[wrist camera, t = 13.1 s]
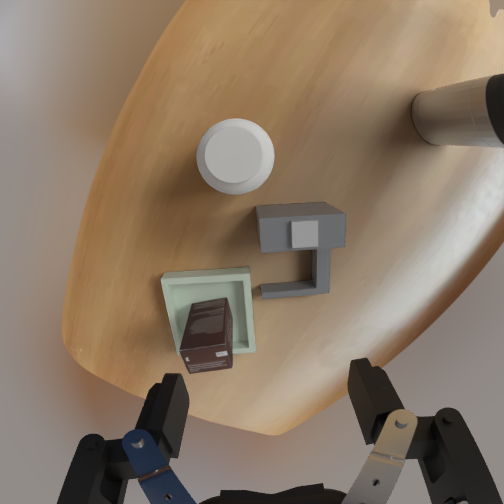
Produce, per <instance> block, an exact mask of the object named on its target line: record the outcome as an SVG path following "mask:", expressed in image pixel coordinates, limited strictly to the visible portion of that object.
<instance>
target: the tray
mask: <svg viewBox="0 0 504 504" xmlns="http://www.w3.org/2000/svg"><path fill="white" fill-rule="evenodd" d="M161 284H162V289H163V294H164V299H165V303H166V308H167V313H168V317H169V321H170V326H171V330H172V334H173V338H174V342H175V346H176V350H177V354H178V355H181V354H180V352H179V348H180V345H181V341H182V337H183V333H184V330H185V326H186V322H187V319H188V315H189V311H190V308H191V304H192V303H198V302H203V301H209V300H214V299H220V298H225V297H227V298H228V302H229V306H230V309H231V313H232V317H233V354H238V353H254V352H256V348H255V335H254V322H253V308H252V295H251V282H250V268H249V267H238V268H224V269H209V270H194V271H178V272H165V273H164V274H163V276H162V278H161Z"/></svg>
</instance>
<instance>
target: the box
mask: <svg viewBox="0 0 504 504" xmlns="http://www.w3.org/2000/svg"><path fill="white" fill-rule="evenodd" d="M179 352H180V354H181V356H182V359H183V361H184V363H185V365H186V368H187V370H188V372H189V373H190V374H191V373H199V372H207V371H214V370H222V369H228V368H232V365H233V363H232V361H233V317H232V313H231V309H230V306H229V302H228V298H227V297H225V298H220V299H214V300H209V301H203V302H198V303H192V304H191V308H190V311H189V315H188V319H187V322H186V326H185V330H184V333H183V337H182V341H181V345H180V348H179Z"/></svg>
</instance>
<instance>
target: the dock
mask: <svg viewBox="0 0 504 504" xmlns="http://www.w3.org/2000/svg"><path fill="white" fill-rule="evenodd" d="M256 219H257V234H258V239H259V244H260V249H261V253H269V252H283V251H297V250H311V249H312V280H307V281H295V282H283V283H271V284H261V294H262V299H270V298H282V297H293V296H304V295H315V294H325V293H329V287H330V258H331V248H338V247H345V228H346V214H345V213H343V212H342V211H340V210H338V209H336V208H335V207H333V206H331V205H329V204H327V203H326V202H315V203H295V204H277V205H261V206H256Z"/></svg>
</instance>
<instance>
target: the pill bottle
mask: <svg viewBox="0 0 504 504" xmlns="http://www.w3.org/2000/svg"><path fill="white" fill-rule="evenodd" d="M274 157H275V155H274V148H273V144H272V142H271V139H270V138H269V136H268V135H267V133H266V132H265V131H264V130H263V129H262V128H261V127H260V126H258V125H257V124H255V123H253V122H251V121H248V120H245V119H227V120H223V121H221V122H218V123H217V124H215V125H213V126H212V127H211V128H209V129H208V130H207V131H206V133H205V134H204V135H203V137H202V138H201V140H200V142H199V145H198V148H197V155H196V159H197V166H198V169H199V172H200V174H201V176H202V177H203V179H204V180H205V181H206V182H207V183H208V184H209V185H210V186H211V187H212V188H214V189H216V190H217V191H220V192H222V193H226V194H232V195H239V194H245V193H248V192H251V191H253V190H255V189H256V188H258V187H259V186H261V185H262V184H263V183H264V182H265V181H266V179H267V178H268V177H269V175H270V173H271V171H272V168H273V165H274Z"/></svg>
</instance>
